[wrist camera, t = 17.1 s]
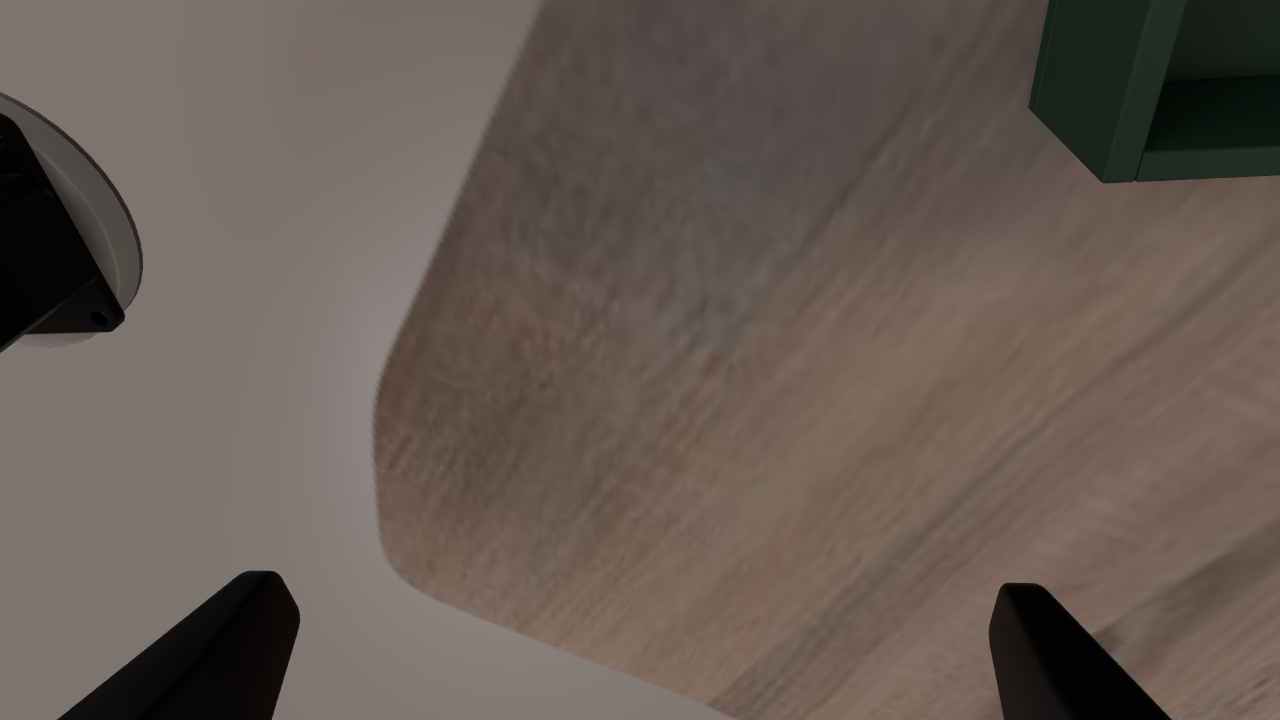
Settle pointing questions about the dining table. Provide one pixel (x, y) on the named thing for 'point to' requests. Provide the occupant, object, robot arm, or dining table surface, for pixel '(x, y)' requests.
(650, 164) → the dining table surface
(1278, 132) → the bin
